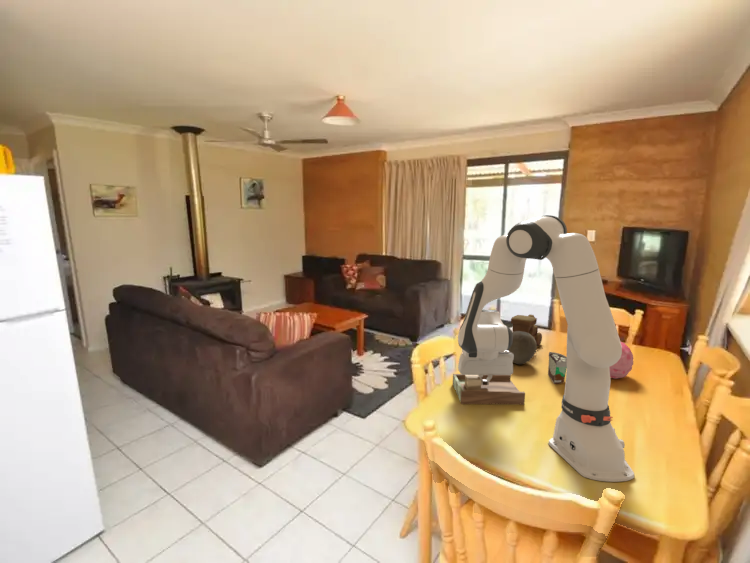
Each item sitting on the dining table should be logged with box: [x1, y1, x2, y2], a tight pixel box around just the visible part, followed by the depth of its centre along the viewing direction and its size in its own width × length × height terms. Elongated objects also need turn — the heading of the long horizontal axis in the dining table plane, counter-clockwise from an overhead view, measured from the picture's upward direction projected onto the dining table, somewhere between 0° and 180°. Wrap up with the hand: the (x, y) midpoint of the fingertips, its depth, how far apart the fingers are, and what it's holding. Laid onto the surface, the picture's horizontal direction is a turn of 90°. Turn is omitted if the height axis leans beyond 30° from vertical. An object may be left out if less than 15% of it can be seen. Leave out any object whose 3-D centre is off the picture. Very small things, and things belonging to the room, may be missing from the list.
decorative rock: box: [609, 341, 634, 379], centre depth 156 cm, size 19×14×15 cm
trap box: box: [452, 373, 526, 405], centre depth 140 cm, size 16×23×4 cm
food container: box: [547, 351, 567, 385], centre depth 151 cm, size 12×6×10 cm, turn 168°
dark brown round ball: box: [507, 331, 538, 365], centre depth 169 cm, size 14×14×15 cm
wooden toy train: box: [510, 314, 543, 346], centre depth 191 cm, size 20×11×17 cm, turn 137°
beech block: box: [465, 375, 481, 390], centre depth 140 cm, size 5×5×4 cm
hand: (484, 384), depth 140 cm, fingers closed
